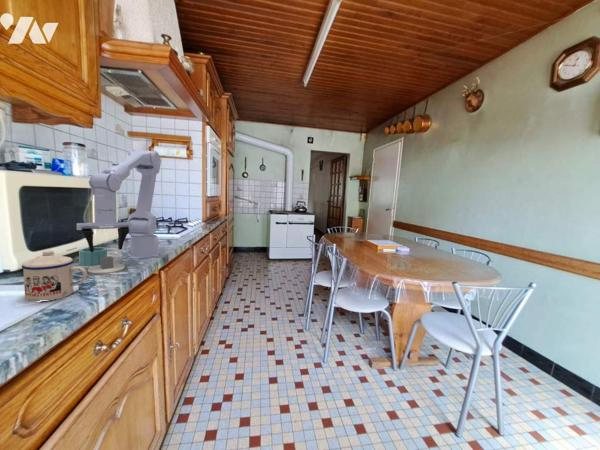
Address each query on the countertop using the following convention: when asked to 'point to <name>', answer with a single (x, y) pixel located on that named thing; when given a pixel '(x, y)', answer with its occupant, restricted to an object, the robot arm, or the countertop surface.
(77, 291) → the countertop surface
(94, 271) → the lid
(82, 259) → the bowl
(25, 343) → the countertop surface
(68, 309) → the countertop surface
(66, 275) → the teacup with lid
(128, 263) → the countertop surface
